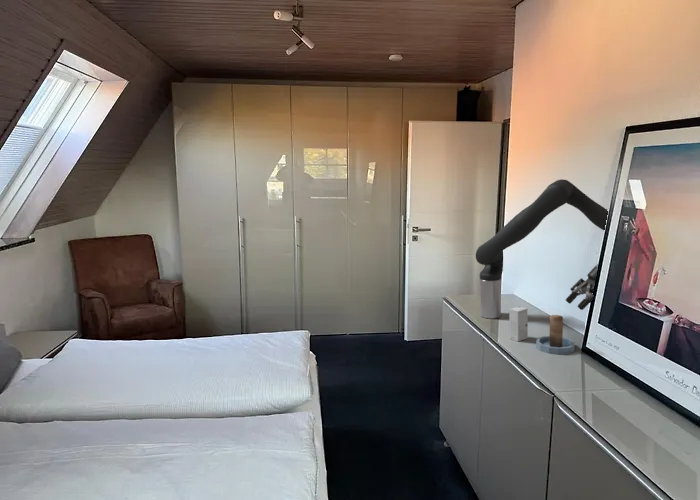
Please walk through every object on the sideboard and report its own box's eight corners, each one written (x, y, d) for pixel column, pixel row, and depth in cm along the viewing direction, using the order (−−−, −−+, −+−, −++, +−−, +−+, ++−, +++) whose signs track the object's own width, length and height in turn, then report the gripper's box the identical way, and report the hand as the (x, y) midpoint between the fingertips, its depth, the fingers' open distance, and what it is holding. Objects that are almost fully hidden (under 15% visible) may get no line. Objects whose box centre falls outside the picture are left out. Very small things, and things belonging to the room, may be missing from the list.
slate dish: (530, 342, 188) (530, 337, 187) (563, 340, 189) (563, 334, 188) (546, 355, 175) (546, 349, 175) (581, 352, 176) (581, 346, 176)
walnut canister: (547, 344, 184) (547, 315, 182) (558, 343, 184) (559, 314, 182) (553, 348, 179) (553, 319, 178) (564, 347, 180) (565, 318, 178)
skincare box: (518, 341, 190) (518, 311, 188) (508, 338, 193) (508, 309, 191) (528, 338, 193) (528, 308, 191) (518, 335, 197) (518, 306, 195)
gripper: (586, 262, 185) (556, 293, 186) (609, 269, 171) (576, 303, 172) (600, 275, 186) (570, 306, 187) (623, 283, 172) (590, 317, 173)
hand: (573, 305), depth 180 cm, fingers open, 8 cm apart
